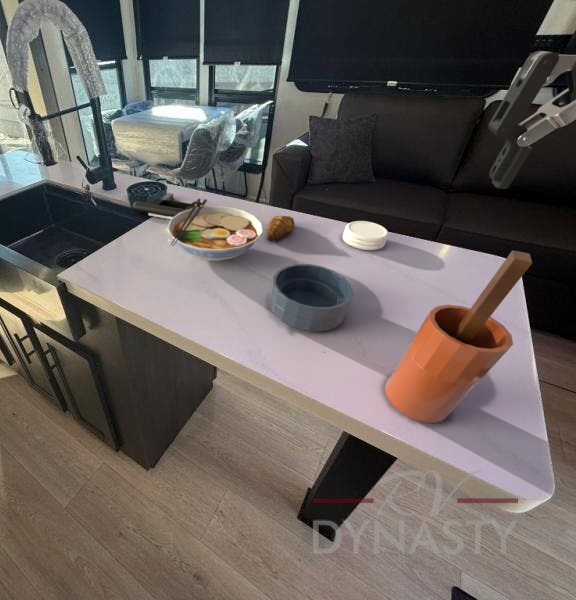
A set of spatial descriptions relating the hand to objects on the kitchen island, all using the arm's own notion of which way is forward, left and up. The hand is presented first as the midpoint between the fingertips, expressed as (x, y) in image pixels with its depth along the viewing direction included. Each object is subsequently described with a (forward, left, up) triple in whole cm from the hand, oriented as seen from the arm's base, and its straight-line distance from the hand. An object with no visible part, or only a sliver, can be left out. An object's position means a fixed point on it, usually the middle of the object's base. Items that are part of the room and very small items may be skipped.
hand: (555, 191), depth 30 cm
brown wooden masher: (-1, +1, -22) cm, 22 cm away
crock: (-1, +1, -31) cm, 31 cm away
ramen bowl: (+45, -21, -32) cm, 59 cm away
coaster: (+14, -45, -32) cm, 57 cm away
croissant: (+34, -39, -32) cm, 61 cm away
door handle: (+69, -37, -32) cm, 85 cm away
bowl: (+19, -11, -31) cm, 38 cm away
